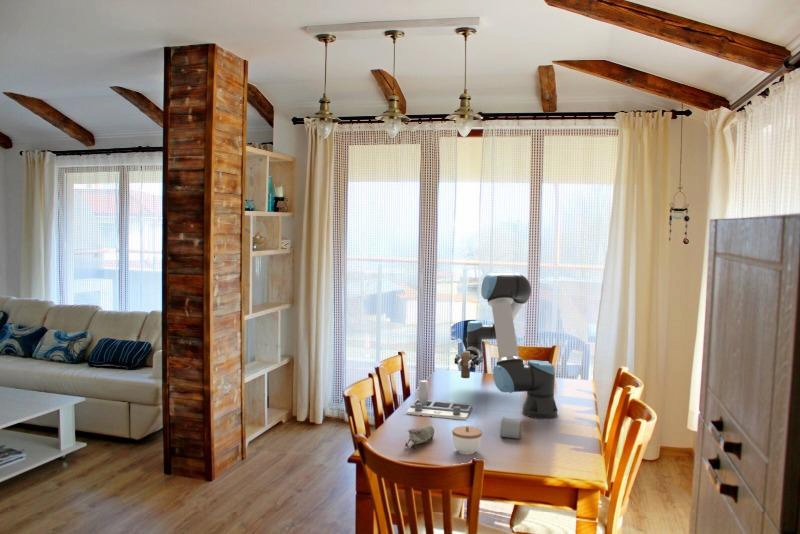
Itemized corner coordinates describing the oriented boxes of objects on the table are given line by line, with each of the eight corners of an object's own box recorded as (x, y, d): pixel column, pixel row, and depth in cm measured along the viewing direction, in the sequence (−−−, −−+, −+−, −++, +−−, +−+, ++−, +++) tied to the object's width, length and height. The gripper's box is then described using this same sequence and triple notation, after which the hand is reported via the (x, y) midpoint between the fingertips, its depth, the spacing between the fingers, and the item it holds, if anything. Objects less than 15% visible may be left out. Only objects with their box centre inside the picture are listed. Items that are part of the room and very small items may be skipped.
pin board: (472, 408, 271) (472, 382, 271) (468, 415, 261) (469, 388, 260) (416, 403, 278) (416, 377, 278) (410, 409, 268) (410, 383, 267)
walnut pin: (470, 378, 278) (471, 352, 277) (462, 378, 277) (462, 352, 276) (468, 376, 282) (468, 350, 281) (460, 376, 281) (460, 351, 280)
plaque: (468, 415, 261) (468, 406, 260) (466, 420, 255) (466, 410, 254) (410, 410, 267) (410, 400, 267) (406, 414, 262) (406, 404, 261)
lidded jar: (486, 450, 220) (487, 425, 220) (473, 459, 211) (474, 433, 211) (460, 444, 226) (460, 419, 225) (446, 452, 217) (447, 427, 216)
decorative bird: (438, 439, 231) (438, 420, 230) (414, 452, 218) (414, 431, 217) (426, 436, 234) (426, 418, 233) (402, 448, 221) (402, 428, 220)
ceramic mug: (521, 441, 230) (521, 421, 229) (499, 439, 232) (500, 419, 232) (523, 433, 240) (523, 414, 240) (502, 430, 242) (503, 412, 242)
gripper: (488, 364, 294) (482, 374, 272) (454, 361, 299) (445, 371, 276) (488, 349, 294) (482, 358, 271) (454, 346, 298) (445, 355, 276)
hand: (463, 365), depth 274 cm, fingers closed on walnut pin, 4 cm apart
